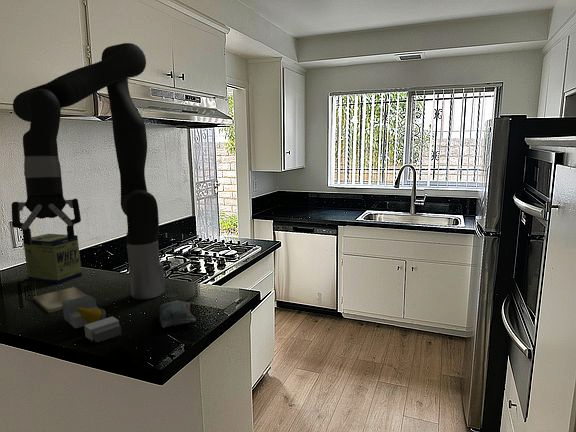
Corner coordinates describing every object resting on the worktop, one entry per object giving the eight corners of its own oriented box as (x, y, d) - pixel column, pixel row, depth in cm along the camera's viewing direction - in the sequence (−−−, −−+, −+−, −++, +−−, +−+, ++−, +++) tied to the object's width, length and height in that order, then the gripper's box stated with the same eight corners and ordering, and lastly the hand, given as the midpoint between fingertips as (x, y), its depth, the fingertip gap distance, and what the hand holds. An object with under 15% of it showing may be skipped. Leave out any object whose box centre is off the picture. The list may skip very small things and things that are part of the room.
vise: (90, 311, 118) (88, 295, 117) (123, 334, 103) (121, 315, 102) (64, 319, 113) (62, 301, 112) (94, 344, 98) (92, 324, 97)
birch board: (74, 289, 138) (74, 286, 138) (92, 301, 126) (92, 298, 126) (33, 299, 129) (33, 296, 129) (49, 312, 118) (48, 309, 118)
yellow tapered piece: (112, 328, 107) (81, 313, 100) (96, 335, 109) (65, 320, 102) (115, 310, 111) (85, 294, 104) (100, 317, 112) (70, 302, 105)
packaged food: (191, 311, 116) (190, 294, 115) (196, 328, 105) (194, 309, 104) (159, 316, 114) (157, 299, 113) (160, 334, 103) (158, 315, 102)
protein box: (58, 284, 144) (53, 241, 142) (27, 280, 150) (21, 239, 147) (83, 275, 154) (78, 235, 151) (53, 272, 159) (47, 233, 157)
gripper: (77, 175, 105) (83, 238, 106) (11, 177, 99) (18, 243, 101) (75, 174, 98) (81, 242, 100) (4, 176, 92) (12, 248, 94)
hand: (49, 242), depth 100 cm, fingers open, 8 cm apart
